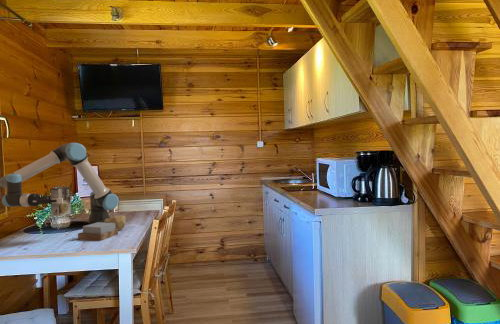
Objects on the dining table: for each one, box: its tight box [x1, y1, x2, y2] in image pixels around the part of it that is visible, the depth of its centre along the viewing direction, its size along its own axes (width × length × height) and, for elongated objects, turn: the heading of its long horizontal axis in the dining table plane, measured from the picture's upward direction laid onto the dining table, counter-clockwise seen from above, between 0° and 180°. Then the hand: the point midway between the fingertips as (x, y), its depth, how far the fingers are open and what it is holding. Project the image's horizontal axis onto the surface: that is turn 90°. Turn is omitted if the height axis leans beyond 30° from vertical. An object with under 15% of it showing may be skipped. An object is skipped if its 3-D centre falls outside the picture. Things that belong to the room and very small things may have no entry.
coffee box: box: [49, 186, 72, 217], centre depth 210 cm, size 9×6×16 cm
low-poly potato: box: [104, 215, 126, 232], centre depth 233 cm, size 15×11×12 cm
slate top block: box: [82, 222, 115, 234], centre depth 216 cm, size 13×13×4 cm
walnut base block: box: [77, 229, 119, 242], centre depth 215 cm, size 16×16×4 cm
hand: (67, 199), depth 210 cm, fingers closed on coffee box, 10 cm apart
